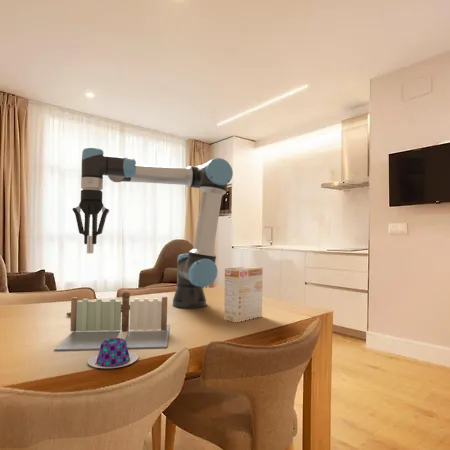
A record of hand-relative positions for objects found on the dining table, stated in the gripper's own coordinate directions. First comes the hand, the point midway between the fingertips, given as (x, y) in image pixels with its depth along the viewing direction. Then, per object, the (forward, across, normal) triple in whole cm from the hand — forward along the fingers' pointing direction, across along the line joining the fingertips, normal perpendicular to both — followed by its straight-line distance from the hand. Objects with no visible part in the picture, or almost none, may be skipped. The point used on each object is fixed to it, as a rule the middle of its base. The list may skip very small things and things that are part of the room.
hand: (90, 253), depth 127 cm
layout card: (+24, +15, -23) cm, 37 cm away
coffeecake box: (+25, +58, -2) cm, 63 cm away
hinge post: (+24, +16, -18) cm, 34 cm away
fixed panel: (+24, +23, -18) cm, 38 cm away
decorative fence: (+25, +2, +11) cm, 28 cm away
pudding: (+25, +17, -43) cm, 53 cm away
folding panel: (+24, +7, -18) cm, 30 cm away
